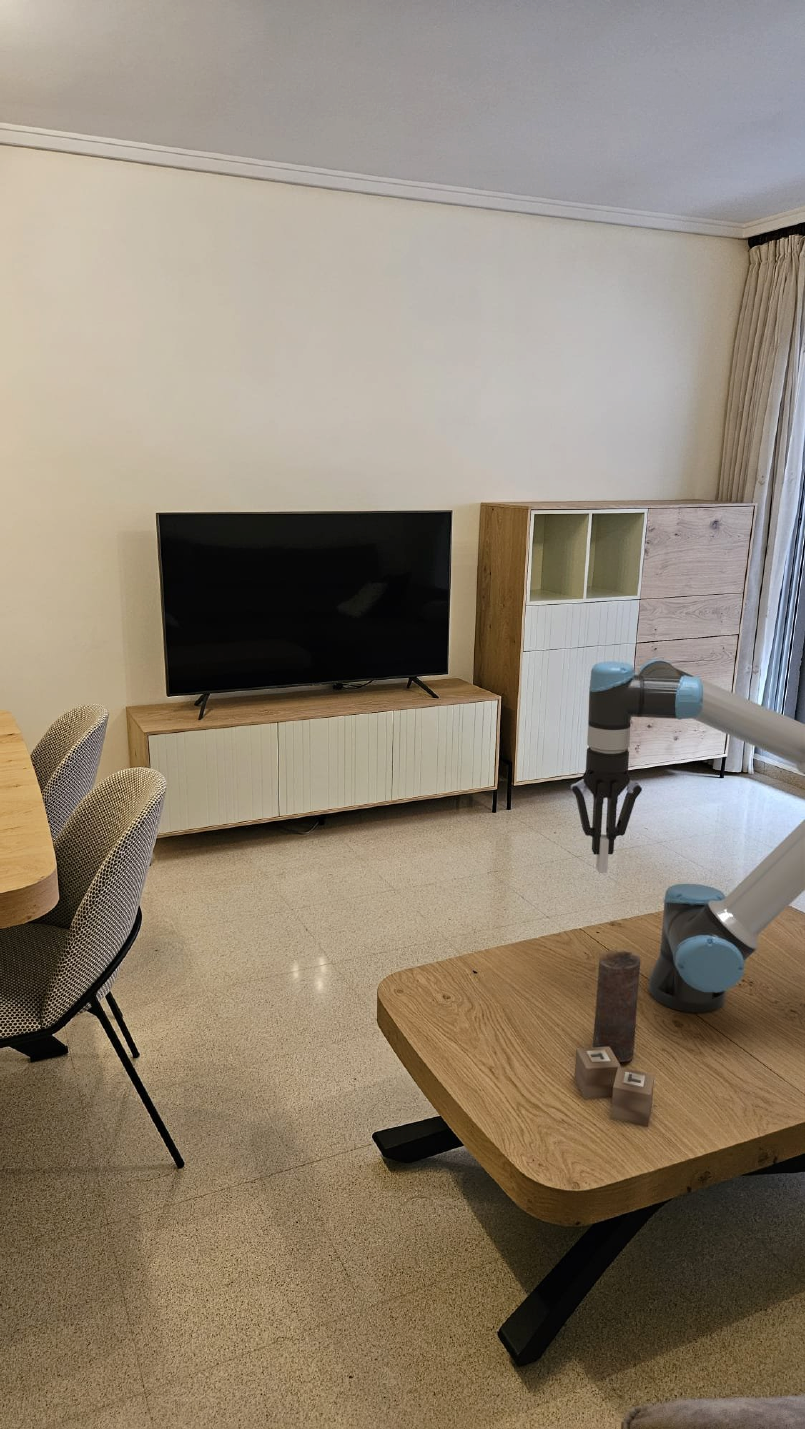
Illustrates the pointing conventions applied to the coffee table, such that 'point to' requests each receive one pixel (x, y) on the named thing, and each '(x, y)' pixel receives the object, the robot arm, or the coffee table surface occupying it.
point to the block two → (595, 1072)
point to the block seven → (632, 1096)
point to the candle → (617, 1003)
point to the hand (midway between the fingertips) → (601, 869)
